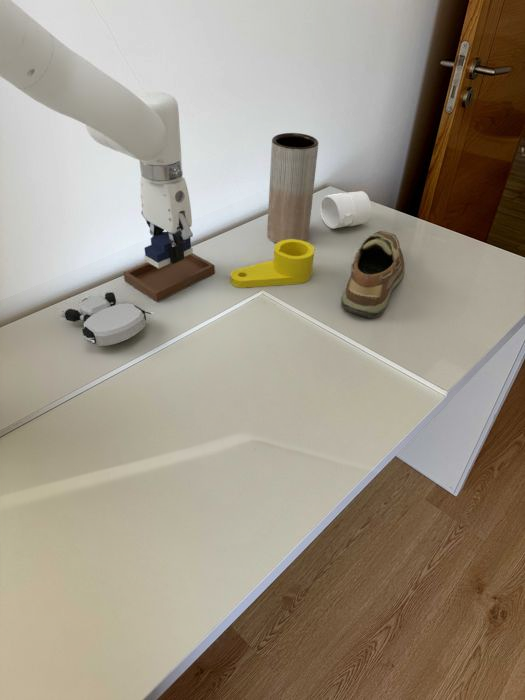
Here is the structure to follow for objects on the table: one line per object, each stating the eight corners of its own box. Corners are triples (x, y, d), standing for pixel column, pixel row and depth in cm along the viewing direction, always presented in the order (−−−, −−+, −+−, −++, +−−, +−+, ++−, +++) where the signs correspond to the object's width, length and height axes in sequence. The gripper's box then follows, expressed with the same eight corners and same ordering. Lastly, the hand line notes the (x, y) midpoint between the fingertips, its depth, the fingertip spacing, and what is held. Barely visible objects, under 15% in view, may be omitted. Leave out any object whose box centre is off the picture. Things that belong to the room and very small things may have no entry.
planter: (272, 248, 123) (278, 149, 108) (262, 228, 130) (266, 133, 115) (313, 244, 125) (324, 147, 110) (301, 225, 132) (310, 131, 117)
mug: (369, 230, 131) (375, 199, 126) (337, 236, 128) (341, 205, 123) (345, 210, 140) (349, 181, 135) (314, 215, 137) (317, 185, 132)
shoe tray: (157, 302, 104) (156, 293, 103) (124, 281, 109) (123, 272, 108) (214, 273, 113) (214, 265, 112) (182, 255, 118) (181, 247, 117)
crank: (302, 261, 118) (304, 237, 115) (317, 280, 112) (320, 255, 109) (225, 273, 113) (225, 248, 109) (237, 294, 107) (237, 268, 103)
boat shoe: (407, 257, 122) (417, 214, 115) (392, 327, 100) (403, 280, 94) (360, 248, 124) (367, 206, 117) (336, 316, 103) (343, 269, 96)
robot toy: (58, 326, 98) (99, 361, 89) (51, 306, 95) (94, 340, 87) (115, 302, 105) (159, 332, 96) (111, 282, 102) (156, 311, 93)
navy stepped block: (178, 245, 112) (177, 226, 109) (192, 253, 110) (191, 233, 107) (144, 260, 106) (142, 241, 104) (158, 268, 104) (156, 249, 101)
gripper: (208, 176, 94) (210, 265, 106) (148, 151, 103) (157, 236, 114) (175, 187, 90) (182, 279, 102) (116, 160, 98) (128, 247, 110)
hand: (169, 255), depth 108 cm, fingers closed on navy stepped block, 4 cm apart
